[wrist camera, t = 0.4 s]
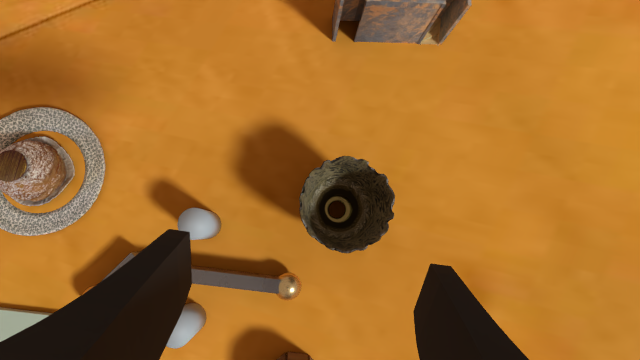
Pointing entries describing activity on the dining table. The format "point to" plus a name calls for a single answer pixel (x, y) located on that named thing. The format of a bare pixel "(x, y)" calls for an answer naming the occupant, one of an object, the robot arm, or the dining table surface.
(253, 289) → the rail
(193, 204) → the dining table surface
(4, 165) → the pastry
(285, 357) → the napkin ring
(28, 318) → the pad
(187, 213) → the grey rounded cylinder
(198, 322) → the post inner
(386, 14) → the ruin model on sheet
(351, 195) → the cup
